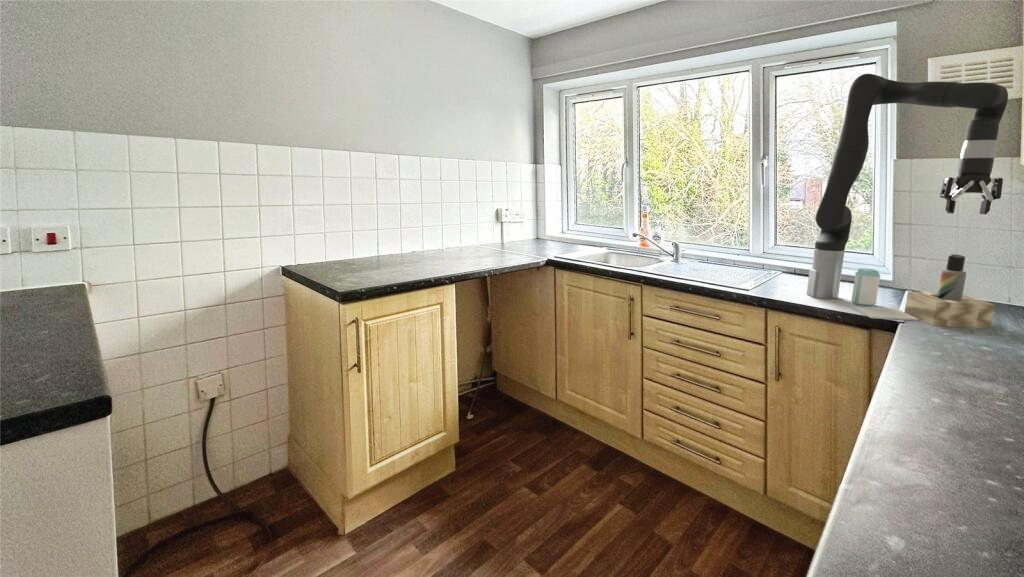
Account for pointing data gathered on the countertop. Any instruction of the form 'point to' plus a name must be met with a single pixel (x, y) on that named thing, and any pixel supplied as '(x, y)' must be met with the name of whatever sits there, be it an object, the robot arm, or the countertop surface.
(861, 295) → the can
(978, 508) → the countertop surface
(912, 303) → the pocket holder
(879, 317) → the grey mat
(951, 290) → the lotion bottle
